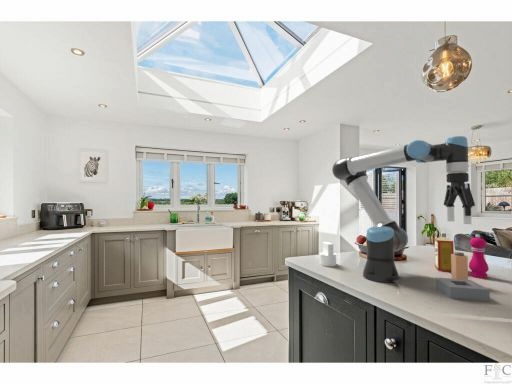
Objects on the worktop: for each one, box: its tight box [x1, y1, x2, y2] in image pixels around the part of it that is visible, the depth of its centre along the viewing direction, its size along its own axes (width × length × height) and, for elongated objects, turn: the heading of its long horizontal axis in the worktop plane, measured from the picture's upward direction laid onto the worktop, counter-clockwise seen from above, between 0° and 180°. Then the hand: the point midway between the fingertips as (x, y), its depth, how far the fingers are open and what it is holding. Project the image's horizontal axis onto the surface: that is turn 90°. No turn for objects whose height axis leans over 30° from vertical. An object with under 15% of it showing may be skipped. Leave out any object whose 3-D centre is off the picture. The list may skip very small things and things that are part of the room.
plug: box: [450, 251, 469, 280], centre depth 112 cm, size 4×4×14 cm
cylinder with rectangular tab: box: [319, 241, 337, 267], centre depth 149 cm, size 9×9×12 cm
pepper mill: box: [468, 233, 489, 279], centre depth 126 cm, size 7×7×20 cm
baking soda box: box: [434, 237, 454, 273], centre depth 139 cm, size 10×6×16 cm
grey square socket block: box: [435, 277, 490, 302], centre depth 100 cm, size 12×12×5 cm
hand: (458, 222), depth 112 cm, fingers open, 13 cm apart
